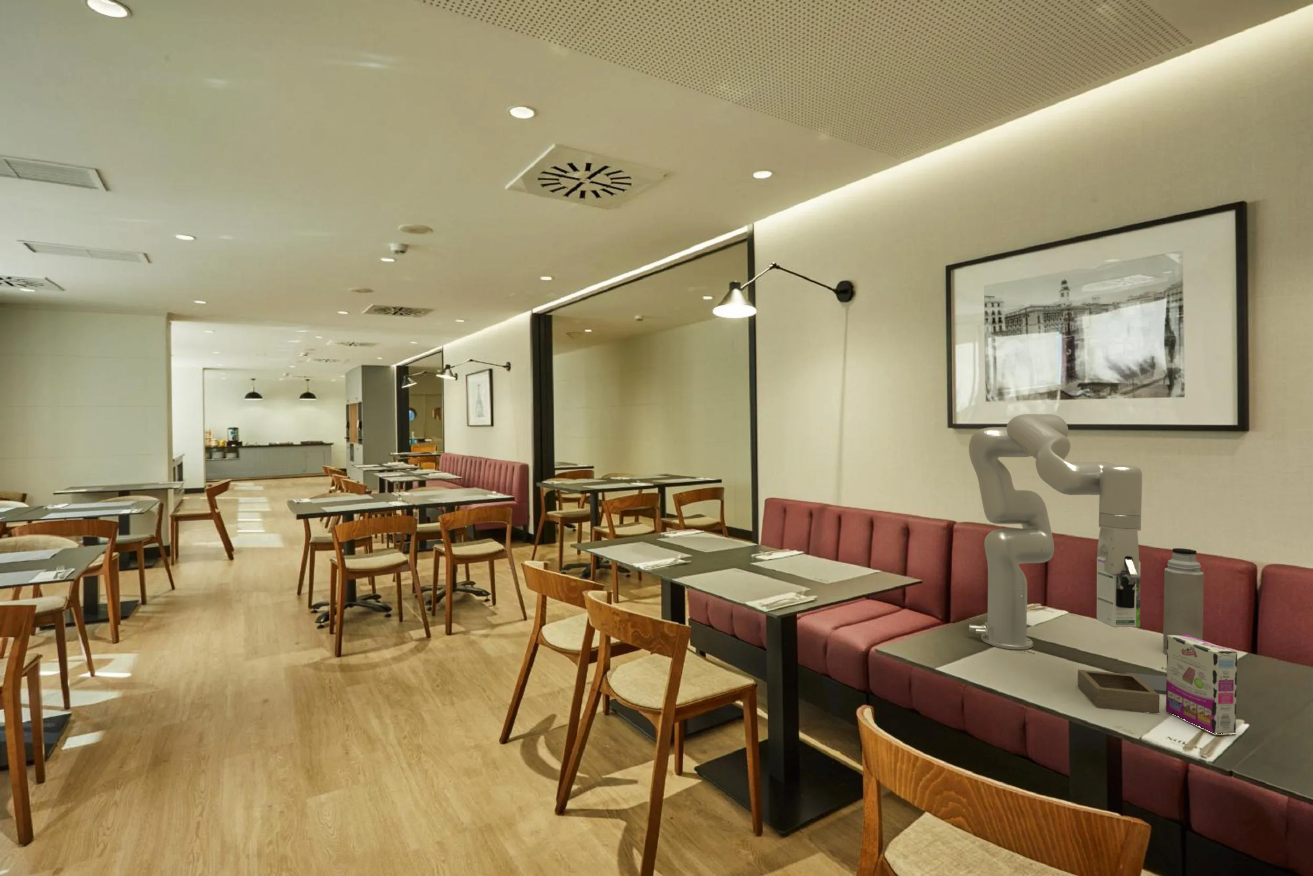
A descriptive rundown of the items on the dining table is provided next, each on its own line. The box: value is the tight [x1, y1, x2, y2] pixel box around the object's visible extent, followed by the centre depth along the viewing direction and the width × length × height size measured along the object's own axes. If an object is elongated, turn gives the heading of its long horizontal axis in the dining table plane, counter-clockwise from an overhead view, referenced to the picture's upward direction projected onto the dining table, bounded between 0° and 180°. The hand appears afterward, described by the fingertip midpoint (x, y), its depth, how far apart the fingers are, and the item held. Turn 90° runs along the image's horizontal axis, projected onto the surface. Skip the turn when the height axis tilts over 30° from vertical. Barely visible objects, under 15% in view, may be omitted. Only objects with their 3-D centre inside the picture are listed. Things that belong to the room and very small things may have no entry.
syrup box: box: [1096, 556, 1141, 628], centre depth 142 cm, size 6×6×14 cm
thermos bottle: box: [1162, 547, 1205, 656], centre depth 170 cm, size 8×8×28 cm
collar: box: [1077, 669, 1161, 714], centre depth 142 cm, size 11×11×4 cm
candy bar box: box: [1165, 635, 1238, 734], centre depth 131 cm, size 11×5×16 cm, turn 5°
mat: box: [1124, 672, 1167, 695], centre depth 150 cm, size 10×10×1 cm
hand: (1117, 602), depth 142 cm, fingers closed on syrup box, 6 cm apart
